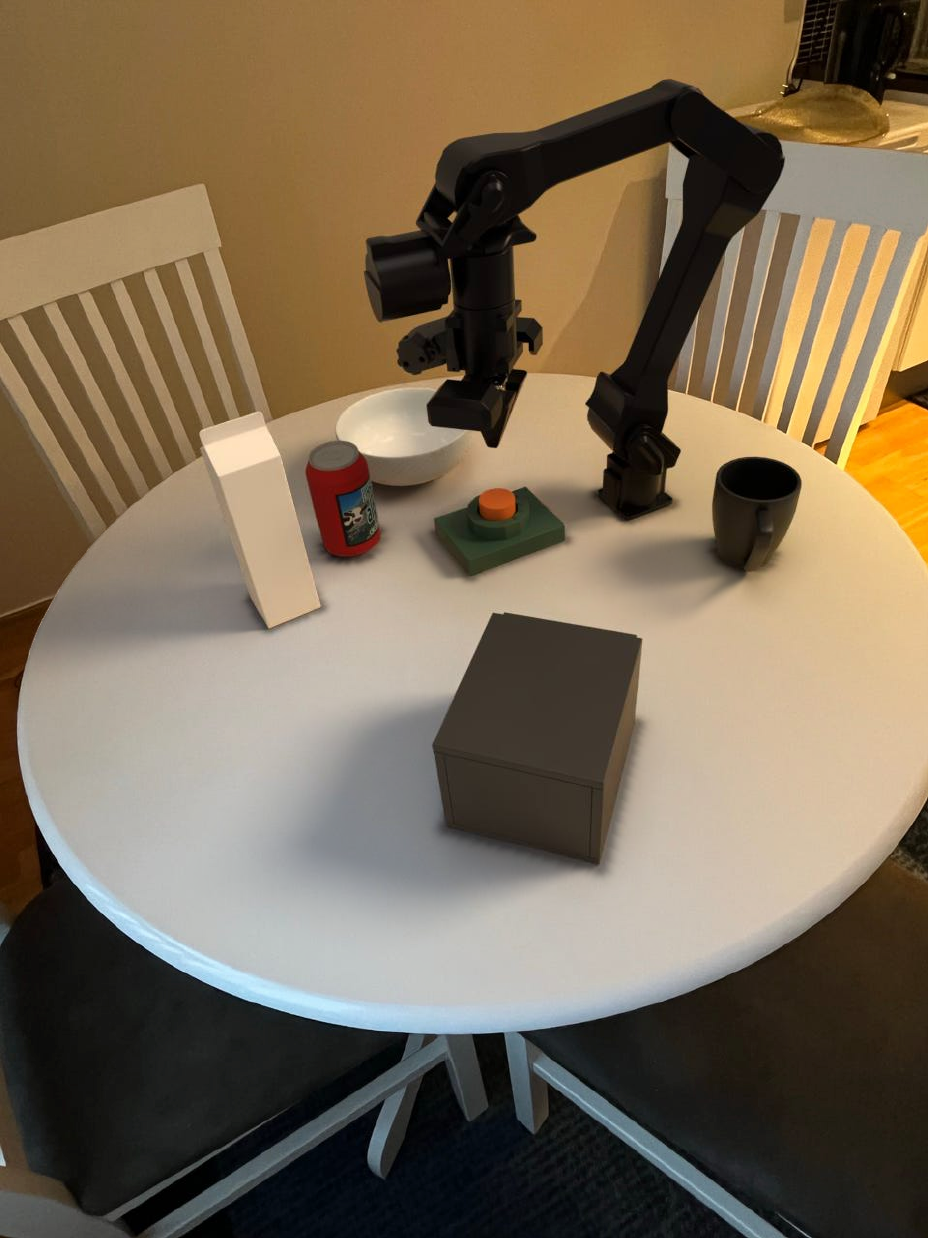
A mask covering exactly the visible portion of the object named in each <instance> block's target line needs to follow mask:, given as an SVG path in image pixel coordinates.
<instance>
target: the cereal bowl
mask: <svg viewBox="0 0 928 1238" xmlns="http://www.w3.org/2000/svg"><path fill="white" fill-rule="evenodd" d="M436 391H437V389H435V388H428V387H400V388H393V389H387V390H383V391H380V392H375V393H374V394H371V395H370V394H369V395H367V396H365V397H363V398H361V399H359V400H357V401H355V402H354V403H352V404H351V405H350V406H348V407H347V408H346V409H345V410H344V411H343V412H342V413H341V414H340V415H339V417H338V419H337V421H336V424H335V428H334V429H335V431H334V432H335V438H336V441H347V442H351V443H353V444H355V445H356V446H357V448H358V450H359V451H360V453H361V454H362V455H363V456H364V457H365V458H366V460H367V464H368V469H369V474H370V479H371V482H373V483H378V484H381V485H385V486H396V487H397V486H399V487H403V486H405V487H407V486H414V485H416V486H417V485H420V484H424V483H428V482H431V481H433V480H436V479H438V478H441V477H442V476H445V475H446V474H448V473H449V472H451V471H452V470H453V469H455V468H456V467H457V465H459V464H460V462H461V461H462V460H463V459H464V457H465V456H466V454H467V452H468V450H469V448H470V445H471V443H472V442H471V441H472V438H473V437H472V436H473V431H471V430H462V429H453V428H443V427H434V426H431V425H430V424H429V423H428V414H427V406H426V405H427V403H428V402H429V400H430V399H431V398H432V396H433V395H434V394H435V392H436Z"/></svg>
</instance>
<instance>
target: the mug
mask: <svg viewBox="0 0 928 1238" xmlns="http://www.w3.org/2000/svg"><path fill="white" fill-rule="evenodd" d="M802 484H803V482H802V478H801V476H800V473H799V472H798V471H797V470H796V469H795V468H794V467H792V466H791V465H789V464H787V463H785V462H784V461H780V460H777V459H774V458H770V457H764V456H744V457H743V456H742V457H737V458H734V459H731V460H729V461H727V462H725V463H724V464H722V465H721V466H720V467H719V468H718V470H717V472H716V474H715V481H714V486H713V487H714V488H713V493H712V502H711V514H712V526H713V533H714V538H715V543H716V546H717V547H716V548H717V554H718V556H719V558H720V559H721V560H722V561H723V562H724V563H726V564H727V565H730V566H732V567H734V568H738V569H743V570H744V571H745V572H749V573H753V572H756V571H758V570H759V569H760V568H761V567H764V566H765V565H767V564H768V563H769V562H770V561H771V560H772V557H773V556H774V554H775V553H776V551H777V549H778V548H779V546H780V545H781V543H782V542H783V540H784V538H785V536H786V534H787V533H788V531H789V528H790V526H791V524H792V522H793V519H794V517H795V514H796V512H797V509H798V508H797V507H798V503H799V500H800V495H801V490H802Z"/></svg>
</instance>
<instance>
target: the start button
mask: <svg viewBox="0 0 928 1238" xmlns="http://www.w3.org/2000/svg"><path fill="white" fill-rule="evenodd" d="M511 491H512V490H509V489H507V488H502V487H496V488H489V489H487V490H485V491H483V492H481V494H479V495H480V497H479V508H480V515H481V516H482V517H483V518H484V519H487V520H490V521H503V520H505V519H508V518H511V517H513V516H514V514H515V512H516V505H515V495H514V494H513V493H512V492H511Z"/></svg>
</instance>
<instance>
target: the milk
mask: <svg viewBox="0 0 928 1238" xmlns="http://www.w3.org/2000/svg"><path fill="white" fill-rule="evenodd" d="M198 434H199V438H200V442H201V444H202V445H201V447H199V450H200V453H201V457H202V459H203V462H204V465H205V468H206V471H207V474H208V477H209V479H210V483H211V485H212V489H213V492H214V494H215V498H216V500H217V504H218V506H219V509H220V511H221V515H222V519H223V521H224V523H225V527H226V530H227V533H228V535H229V538H230V541H231V544H232V547H233V550H234V553H235V556H236V559H237V562H238V565H239V568H240V569H241V574H242V576H243V580H244V582H245V585H246V587H247V588H246V589H247V591H248V594H249V597H250V599H251V601H252V603H253V604H254V606H255V607H256V610H257V611H258V613H259V614H260V616H261V619H262V620H263V621H264V623H265V624H266V627H267V628H268V629H271V628H272V629H273V628H274V627H276V626H278V625H281V624H284V623H286V622H288V621H291V620H293V619H296V618H298V617H301V616H303V615H305V614H308V613H310V612H313V611H315V610H318V609H320V608H321V607H322V606H321V602H320V598H319V595H318V592H317V587H316V583H315V580H314V577H313V571H312V568H311V564H310V561H309V558H308V557H309V556H308V553H307V550H306V546H305V542H304V539H303V536H302V535H303V534H302V531H301V527H300V524H299V520H298V516H297V512H296V509H295V505H294V500H293V497H292V494H291V489H290V486H289V483H288V478H287V475H286V471H285V467H284V463H283V460H282V459H283V458H282V455H281V453H280V451H279V449H278V447H277V446H276V443H275V441H274V439H273V438H272V436H271V433H270V431H269V429H268V428H267V426H266V421H265V418H264V415H263V413H262V412H261V411H255V412H252V413H249V414H246V415H242V416H239V417H237V418H234V419H230V420H228V421H224V422H222V423H218V424H215V425H212V426H209V427H206V428H202V429H201V430H200V431H199V432H198Z"/></svg>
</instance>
